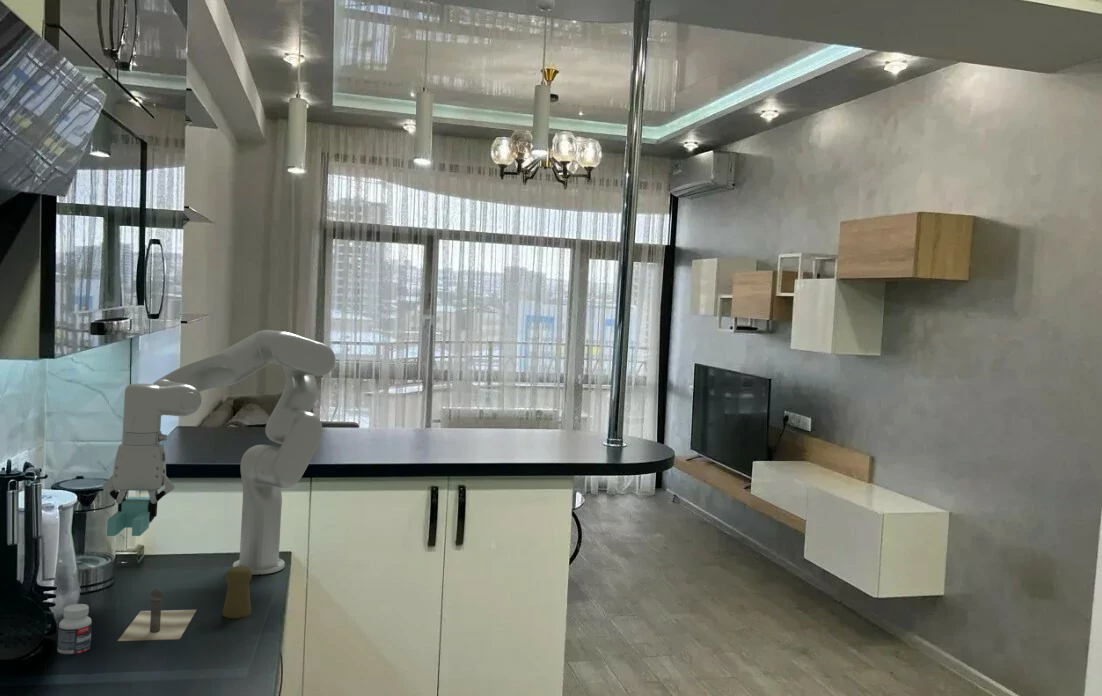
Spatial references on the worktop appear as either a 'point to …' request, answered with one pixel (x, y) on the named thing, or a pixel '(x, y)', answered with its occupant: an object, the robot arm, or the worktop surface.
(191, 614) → the stand
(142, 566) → the worktop surface
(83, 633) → the pill bottle
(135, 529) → the link
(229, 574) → the cork
